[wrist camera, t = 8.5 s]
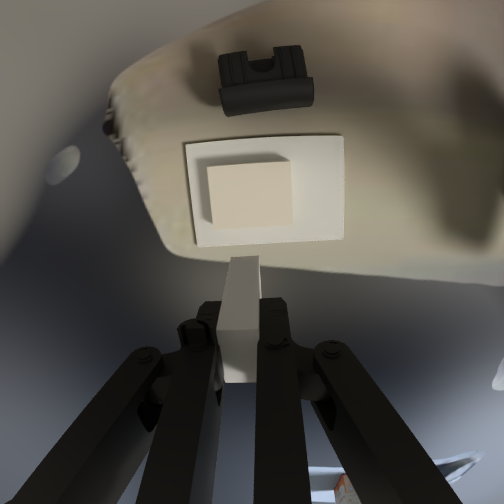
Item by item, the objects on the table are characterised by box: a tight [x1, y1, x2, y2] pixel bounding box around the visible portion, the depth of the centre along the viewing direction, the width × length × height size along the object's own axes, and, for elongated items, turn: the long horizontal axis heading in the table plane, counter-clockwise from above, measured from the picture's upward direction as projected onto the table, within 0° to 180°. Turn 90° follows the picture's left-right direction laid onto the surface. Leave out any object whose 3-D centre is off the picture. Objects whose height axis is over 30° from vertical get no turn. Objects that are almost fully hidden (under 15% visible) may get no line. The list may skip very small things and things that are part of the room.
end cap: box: [218, 45, 314, 117], centre depth 31 cm, size 10×7×7 cm
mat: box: [186, 136, 344, 247], centre depth 39 cm, size 20×14×1 cm
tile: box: [207, 160, 293, 230], centre depth 38 cm, size 2×8×10 cm
